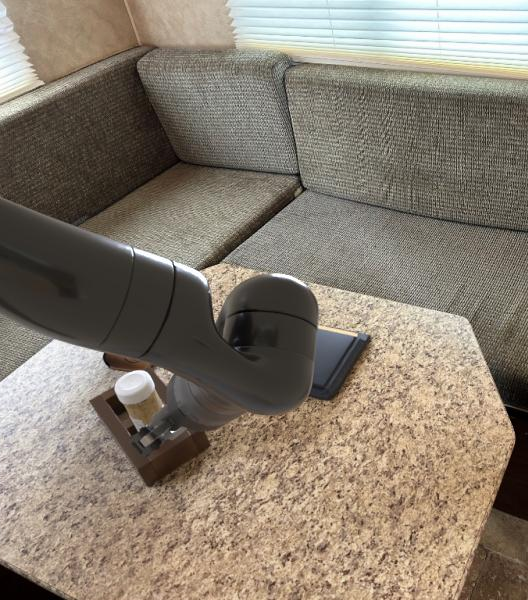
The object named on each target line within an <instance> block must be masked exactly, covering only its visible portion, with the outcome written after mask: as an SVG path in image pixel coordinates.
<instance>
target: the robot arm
mask: <svg viewBox="0 0 528 600" xmlns="http://www.w3.org/2000/svg"><path fill="white" fill-rule="evenodd" d="M214 315H215V314H214V306H213V297H212V289H211V286H210V283H209V281H208V279H207V277H205V275H204V274H203V273H201V271H199V270H198V269H196V268H193V267H191V266H189V265H186V264H184V263H181V262H178V261H176V260H172V259H169V258H168V257H164V256H162V255H158V254H156V253H153V252H149V251H147V250H144V249H142V248H138V247H136V246H133V245H129V244H127V243H124V242H122V241H119V240H115V239H113V238H110V237H107V236H104V235H102V234H98V233H96V232H93V231H90V230H88V229H84V228H82V227H79V226H76V225H73V224H71V223H68V222H65V221H63V220H60V219H58V218H55V217H51V216H49V215H47V214H44V213H41V212H38V211H37V210H34V209H31V208H29V207H26V206H24V205H22V204H19V203H16V202H14V201H12V200H9V199H7V198H5V197H2V196H0V316H1V317H2V318H4V319H6V320H8V321H10V322H13V323H14V324H16V325H18V326H20V327H22V328H25V329H27V330H29V331H32V332H34V333H37V334H39V335H41V336H44V337H48V338H50V339H54V340H56V341H58V342H62V343H65V344H68V345H72V346H75V347H79V348H83V349H88V350H92V351H96V352H98V353H99V352H100V353H103V354H104V353H108V354H112V355H116V356H120V357H124V358H129V359H134V360H138V361H141V362H145V363H149V364H152V365H153V366H156V367H158V368H160V369H163V370H165V371H167V372H169V373H172V376H171V377H170V379H169V381H168V383H167V385H166V386H167V391H166V401H167V404H166V405H165V406H164V407H163V408H161V409H160V410H159V411H158V412H156V413H155V414H154V415H153V416H152V422H151V423H150V424H149V425H146V426H144V427H142V428H140V429H139V430H140V431H139V432H138V433H136V434H135V435H133V436H131V437H130V440H129V441H128V442H129V444H131V445H132V446H133V447H134V449H135V450H136V451H137V452H138V453H139V454H141V455H140V456H141V458H144V457H145V456H146V457H147V456H148V455H150V453H151V452H153V451H154V450H155V449H156V450H157V449H159V448H160V446H161V445H162V444H163V442H164V441H165V440H166V439H169V440H174V439H175V438H176V437H178V436H179V435H180V434H181V433H183V432H184V431H185V430H187V429H191V430H194V431H201V432H205V433H206V432H212V431H216V430H218V429H221V428H222V427H224V426H226V425H228V424H229V423H231V422H233V421H235V420H236V419H238V418H240V417H241V416H243V415H245V414H246V413H250V414H253V415H258V416H265V417H274V416H281V415H285V414H288V413H290V412H293V411H295V410H297V409H298V408H299V407H301V406H303V404H304V403H305V402H306V401H307V400H308V398H309V394H310V391H311V387H312V381H313V373H314V362H315V353H316V343H317V332H318V324H319V323H320V306H319V302H318V300H317V298H316V296H315V294H314V292H313V291H312V289H311V288H309V286H308V285H307V284H305V282H303V281H302V280H300V279H298V278H296V277H294V276H291V275H289V274H284V273H276V272H270V273H262V274H257V275H255V276H251V277H249V278H246V279H244V280H243V281H241V282H240V283H239V284H237V285H236V286H235V287H234V288H233V289H232V290H230V292H229V293H228V294H227V297H226V298H225V299H224V302H223V303H222V306H221V308H220V310H219V313H218V316H217V317H216V320H215V316H214ZM155 425H157V427H156V428H155V427H154V426H155ZM163 433H164V436H162V434H163Z"/></svg>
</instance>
